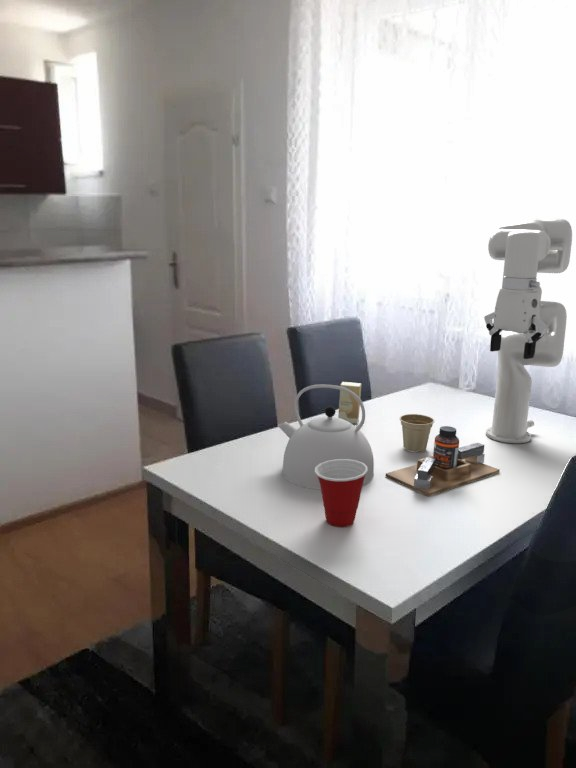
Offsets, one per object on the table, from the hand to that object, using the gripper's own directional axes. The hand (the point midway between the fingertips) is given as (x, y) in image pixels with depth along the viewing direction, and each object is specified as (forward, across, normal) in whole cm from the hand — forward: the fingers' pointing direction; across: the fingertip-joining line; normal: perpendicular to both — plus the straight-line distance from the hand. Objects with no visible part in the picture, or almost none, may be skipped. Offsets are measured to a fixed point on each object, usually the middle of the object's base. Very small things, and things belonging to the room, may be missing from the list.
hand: (511, 354), depth 154 cm
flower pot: (+30, +21, +9) cm, 38 cm away
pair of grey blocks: (+28, +2, +17) cm, 33 cm away
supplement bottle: (+29, +4, +17) cm, 33 cm away
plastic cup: (+29, -2, +55) cm, 62 cm away
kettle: (+29, +21, +41) cm, 55 cm away
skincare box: (+30, +50, +9) cm, 59 cm away
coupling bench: (+29, +4, +17) cm, 34 cm away
